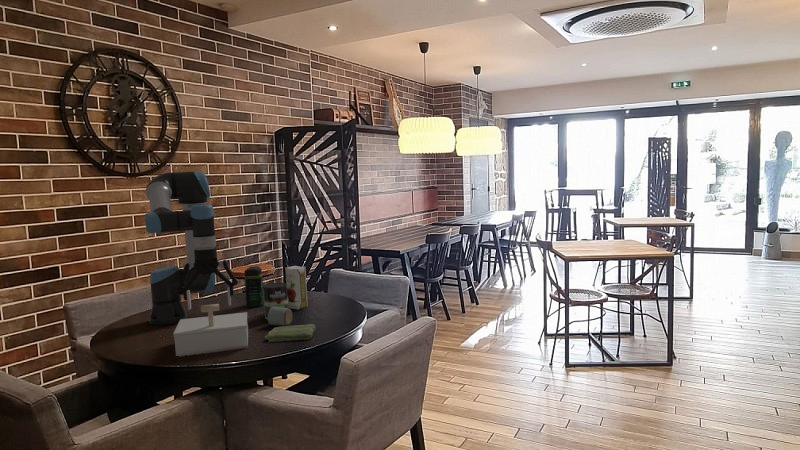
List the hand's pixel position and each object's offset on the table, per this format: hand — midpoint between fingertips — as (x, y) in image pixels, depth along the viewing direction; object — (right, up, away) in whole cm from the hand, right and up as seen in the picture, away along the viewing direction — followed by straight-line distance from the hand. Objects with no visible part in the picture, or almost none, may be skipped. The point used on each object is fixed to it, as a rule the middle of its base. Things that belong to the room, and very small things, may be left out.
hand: (210, 306), depth 185 cm
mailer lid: (-1, -7, +6) cm, 9 cm away
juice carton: (+21, -9, +55) cm, 59 cm away
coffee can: (+14, -11, +41) cm, 45 cm away
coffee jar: (-1, -9, +62) cm, 63 cm away
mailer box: (-1, -15, +7) cm, 16 cm away
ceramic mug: (+19, -12, +29) cm, 37 cm away
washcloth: (+26, -14, +13) cm, 33 cm away
